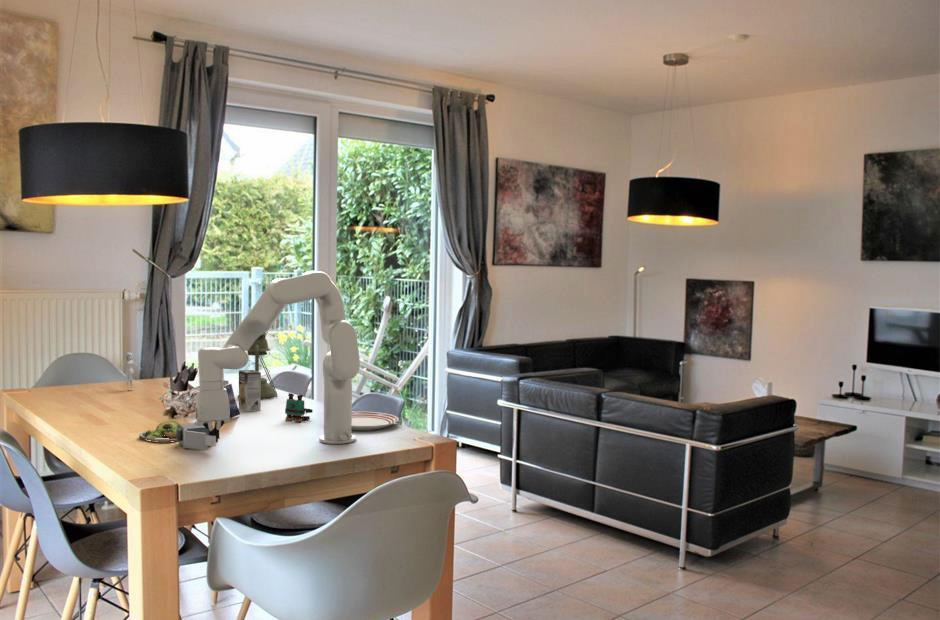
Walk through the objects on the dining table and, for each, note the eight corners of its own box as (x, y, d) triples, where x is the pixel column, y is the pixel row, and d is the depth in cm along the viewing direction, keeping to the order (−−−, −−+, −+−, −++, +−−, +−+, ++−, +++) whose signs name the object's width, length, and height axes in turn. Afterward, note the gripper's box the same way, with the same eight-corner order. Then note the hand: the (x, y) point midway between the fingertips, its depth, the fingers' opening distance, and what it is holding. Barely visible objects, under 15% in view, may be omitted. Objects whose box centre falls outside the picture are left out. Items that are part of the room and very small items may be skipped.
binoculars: (317, 394, 303) (300, 395, 294) (315, 421, 303) (298, 422, 294) (299, 392, 307) (282, 393, 298) (297, 418, 307) (280, 420, 298)
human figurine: (117, 392, 357) (117, 353, 356) (114, 391, 360) (114, 353, 359) (143, 389, 365) (143, 352, 364) (140, 388, 368) (140, 351, 367)
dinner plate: (400, 419, 306) (400, 410, 306) (396, 433, 279) (396, 424, 279) (331, 418, 305) (331, 410, 305) (320, 433, 278) (320, 424, 278)
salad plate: (211, 438, 268) (211, 425, 268) (165, 447, 253) (165, 433, 253) (178, 430, 279) (178, 418, 279) (132, 439, 264) (132, 425, 264)
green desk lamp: (238, 393, 359) (238, 330, 357) (277, 392, 364) (277, 329, 362) (237, 401, 339) (237, 333, 338) (277, 400, 344) (278, 333, 342)
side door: (213, 452, 244) (213, 433, 244) (182, 447, 249) (182, 429, 249) (216, 451, 245) (216, 433, 245) (185, 447, 250) (185, 429, 250)
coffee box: (238, 408, 322) (238, 370, 321) (252, 406, 326) (252, 369, 325) (246, 411, 315) (246, 372, 314) (261, 410, 319) (261, 371, 318)
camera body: (213, 445, 255) (212, 424, 255) (180, 449, 250) (180, 427, 249) (206, 440, 263) (206, 419, 262) (175, 443, 257) (175, 422, 257)
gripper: (232, 381, 254) (234, 436, 255) (185, 386, 246) (187, 443, 247) (238, 384, 247) (240, 440, 249) (190, 389, 239) (192, 447, 241)
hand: (214, 441), depth 248 cm, fingers closed
